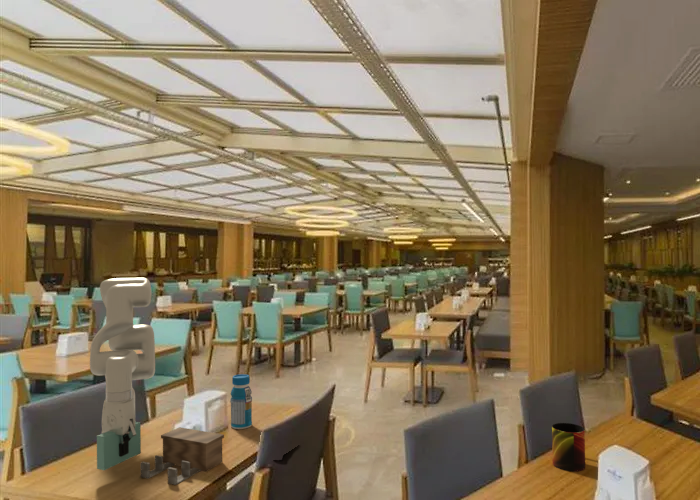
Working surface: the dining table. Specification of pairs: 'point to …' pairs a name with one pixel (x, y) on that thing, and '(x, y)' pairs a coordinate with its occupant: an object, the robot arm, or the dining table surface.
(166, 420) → the dining table surface
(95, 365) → the robot arm
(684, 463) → the dining table surface
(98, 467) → the green rectangular block
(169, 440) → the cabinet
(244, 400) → the beverage bottle
